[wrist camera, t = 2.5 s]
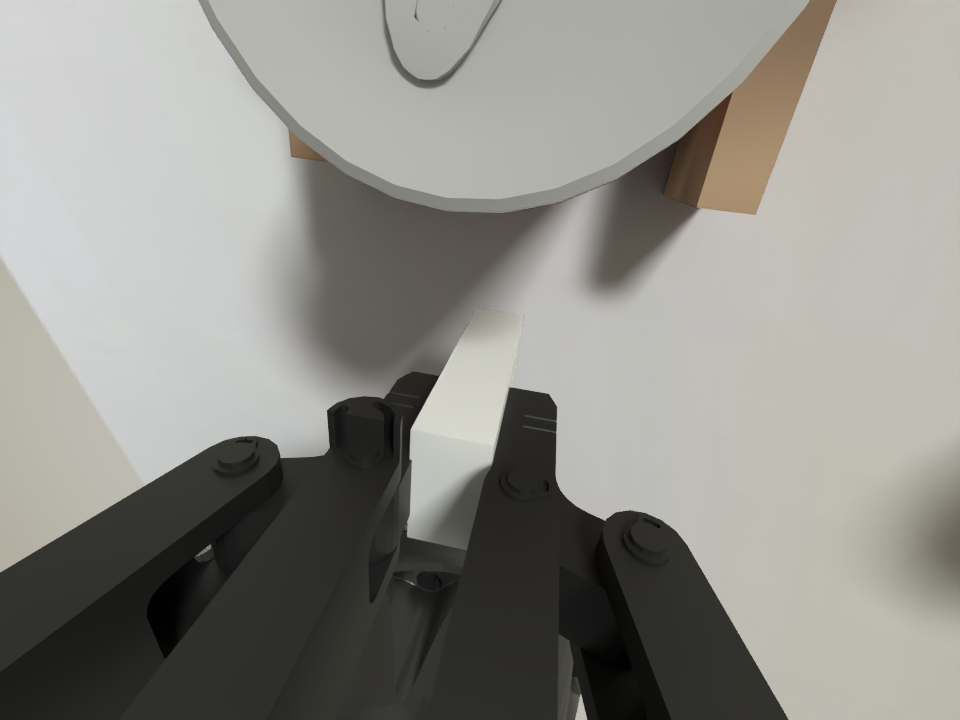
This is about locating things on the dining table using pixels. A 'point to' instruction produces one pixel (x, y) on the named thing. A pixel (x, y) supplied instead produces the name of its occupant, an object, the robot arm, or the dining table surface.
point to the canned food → (494, 86)
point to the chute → (734, 125)
